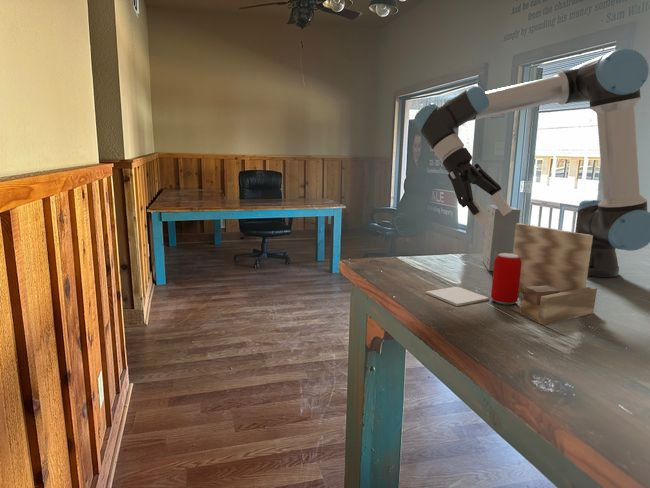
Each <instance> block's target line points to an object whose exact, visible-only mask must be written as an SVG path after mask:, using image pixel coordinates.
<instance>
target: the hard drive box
mask: <svg viewBox="0 0 650 488" xmlns="http://www.w3.org/2000/svg"><path fill="white" fill-rule="evenodd" d="M509 207H510V208H511V210H512V211H511V212H509V213H508V214H506V215H505V216H503V215H502V214H501V212H500V211H499V209H498V208H497V206H496V205H495V204H488V205H487V211H486V213H487V214H486V215H487V217H488V218H489V220H490V221H489V222H488V223H486V224H485V234H484V244H483V253H482V254H483V255H482V262H483V264H484V265H485V268H486V269H487V270H488V271H489V272H493V270H494V261H495V258H496V257H497V256H498V254H501V253H509V254H513V246H514V237H515V228H516V224H517V223H520V216H521V209H520V208H517V207H514V206H511V205H509Z"/></svg>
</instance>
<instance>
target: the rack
mask: <svg viewBox="0 0 650 488" xmlns="http://www.w3.org/2000/svg"><path fill="white" fill-rule="evenodd" d="M592 240H593V235H588V234H582V233H576V232H575V231H568V230H564V229H557V228H550V227H544V226H538V225H534V224H533V225H532V224H526V223H521V222H519V223H517V224H516V228H515V237H514V246H513V254H515V255H518V256H519V257H520V260H521V262H522V265H521V274H520V283H519V291H518V292H520V293H523V294H524V293H525V287H532V286H546V285H547V286H549V287H552V288H555V289H557V290H560V293H556V294H551V295H546V296H541V301H540V310H539V318H538V320H537V324H540V325H543V326H546V325H551V324H554V323H558V322H562V321H566V320H571V319H575V318H579V317H582V316H583V317H584V316H586V315H587V316H588V315H591V314H594V312H595V304H596V299H597V291H598V288H596V287H594V286H593V287H592V286H587V283H588V282H587V280H588V276H587V275H588V268H589V261H590V254H591V247H592Z"/></svg>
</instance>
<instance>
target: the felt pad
mask: <svg viewBox="0 0 650 488" xmlns="http://www.w3.org/2000/svg"><path fill="white" fill-rule="evenodd" d="M425 293H426V294H427V295H428V296H431V297H434V298H436V299H439V300H441V301H443V302H446V303H448V304H450V305H452V306H456V307H461V306H466V305H470V304H476V303H482V302H487V301H490V297H488V296H485V295H483V294H479V293H477V292H474V291H471V290H469V289H466V288H464V287H460V286H452V287H446V288H439V289H433V290H427V291H425Z"/></svg>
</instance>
